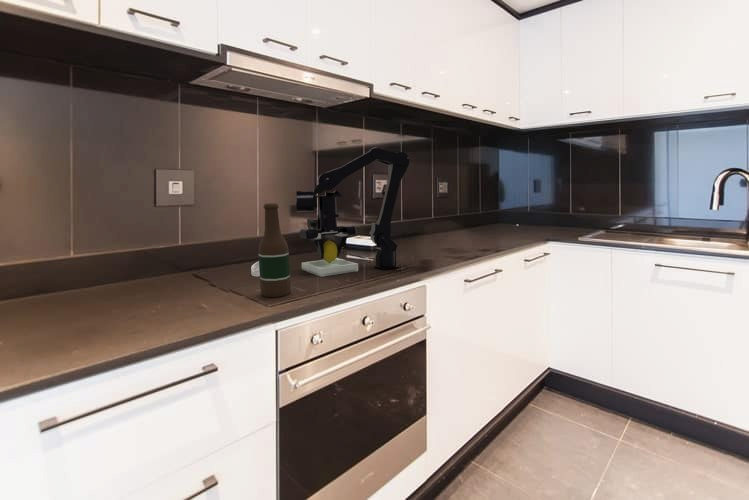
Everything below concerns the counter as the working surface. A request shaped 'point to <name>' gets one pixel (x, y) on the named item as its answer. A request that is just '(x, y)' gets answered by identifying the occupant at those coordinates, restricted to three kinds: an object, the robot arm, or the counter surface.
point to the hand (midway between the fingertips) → (329, 257)
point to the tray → (329, 267)
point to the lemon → (330, 251)
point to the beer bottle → (273, 256)
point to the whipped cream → (255, 269)
